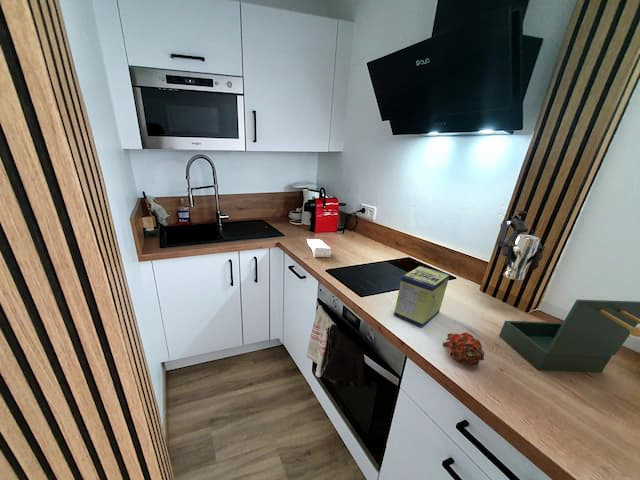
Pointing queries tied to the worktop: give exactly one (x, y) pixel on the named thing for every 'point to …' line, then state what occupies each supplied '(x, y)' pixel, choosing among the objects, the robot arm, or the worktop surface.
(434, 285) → the protein box
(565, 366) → the dark green box base
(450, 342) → the dragon fruit
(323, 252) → the white rectangular block
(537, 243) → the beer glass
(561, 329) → the box lid with handle
